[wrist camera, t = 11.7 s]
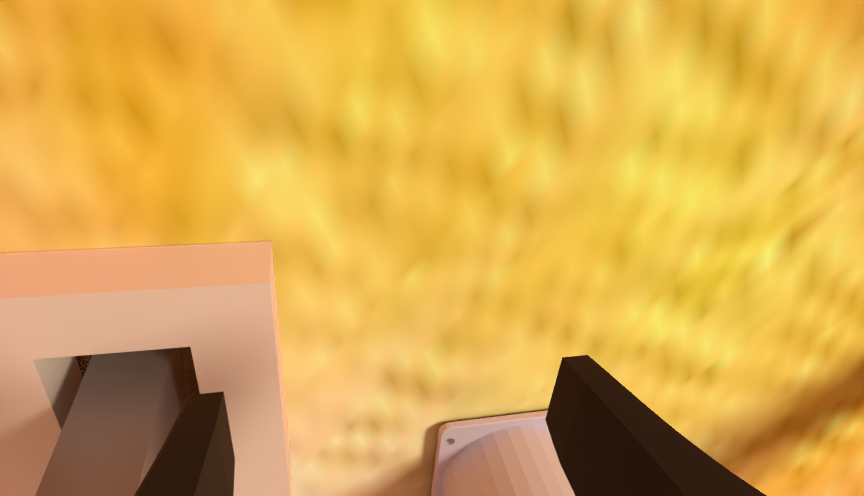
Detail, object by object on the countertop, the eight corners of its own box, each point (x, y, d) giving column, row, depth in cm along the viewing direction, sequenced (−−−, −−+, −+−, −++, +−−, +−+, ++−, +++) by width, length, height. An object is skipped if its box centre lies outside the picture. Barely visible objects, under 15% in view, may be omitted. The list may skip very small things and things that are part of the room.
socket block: (290, 458, 26) (290, 507, 24) (50, 489, 24) (28, 546, 22) (271, 240, 20) (269, 282, 18) (-59, 255, 18) (-104, 305, 16)
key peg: (176, 330, 21) (133, 505, 15) (196, 423, 24) (167, 602, 18) (99, 336, 20) (24, 520, 15) (129, 431, 23) (76, 618, 17)
